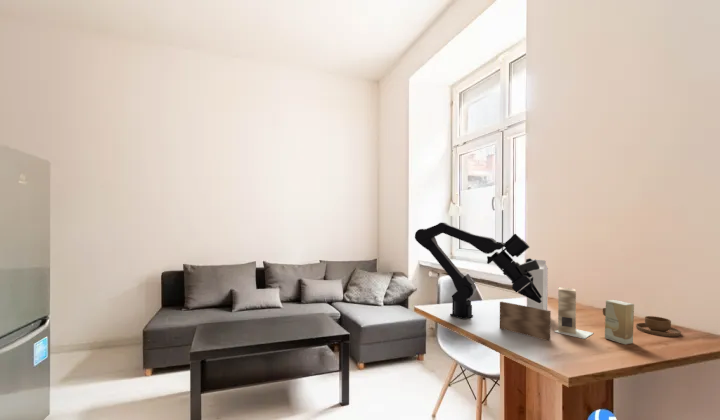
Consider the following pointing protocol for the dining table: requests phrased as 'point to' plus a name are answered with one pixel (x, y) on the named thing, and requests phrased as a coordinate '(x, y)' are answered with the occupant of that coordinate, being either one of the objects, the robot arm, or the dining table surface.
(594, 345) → the dining table surface
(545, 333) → the screen
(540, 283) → the milk
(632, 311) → the skincare box
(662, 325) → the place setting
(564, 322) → the wooden block
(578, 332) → the mat
